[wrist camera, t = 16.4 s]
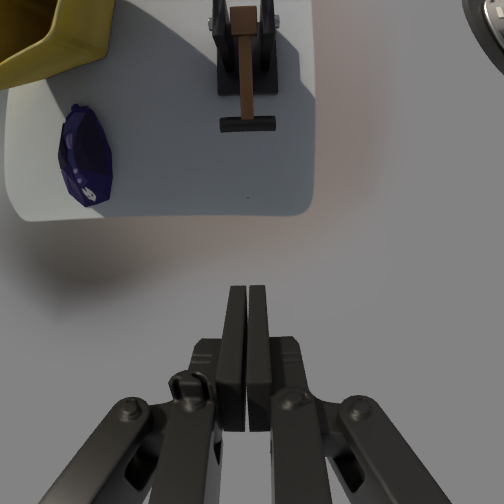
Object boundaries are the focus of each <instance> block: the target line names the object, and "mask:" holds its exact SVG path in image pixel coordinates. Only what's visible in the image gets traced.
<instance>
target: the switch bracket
mask: <svg viewBox="0 0 504 504" xmlns="http://www.w3.org/2000/svg"><path fill="white" fill-rule="evenodd" d="M279 24H280V21H279V15H274V2H273V0H261V3H260V22H257V37H251V52H252V81H253V95H266V94H278V76H277V56H276V39H275V34H276V31H275V29H278V28H279ZM208 26H209V31H212V36H213V39H214V41H215V44H216V47H217V81H218V95H219V96H234V95H240V74H239V50H238V38H233V37H232V35H231V25H230V21H229V16H228V11H227V6H226V1H225V0H213V15H212V18H209V19H208Z"/></svg>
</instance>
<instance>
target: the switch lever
mask: <svg viewBox="0 0 504 504" xmlns="http://www.w3.org/2000/svg"><path fill="white" fill-rule="evenodd" d="M230 25H231V35H232V37H233V38H238V50H239V74H240V98H241V117H224V118H220V131H221V133H224V132H244V131H275V130H276V118H275V116H254V111H253V81H252V52H251V37H257V7H256V6H236V7H230Z"/></svg>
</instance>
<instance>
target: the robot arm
mask: <svg viewBox="0 0 504 504" xmlns="http://www.w3.org/2000/svg"><path fill="white" fill-rule="evenodd" d="M481 11H482V15H483V19H484V21H485V24H486V26H487V28H488V30H489V32H490V34H491V36H492V37H493V39H494V41H495V42H496V44H497V45H498V47H499V48H500V49H501V51H502V52H503V53H504V0H485V1H483V2H482V5H481ZM249 289H250V290H249V317H247V296H246V286H231V287H230V293H229V299H228V305H227V311H226V317H225V323H224V329H223V335H222V339H204V338H202V339H201V340H200V341H199V342H198V343H197V344H196V345H195V347H194V351H193V354H192V357H191V361H190V365H189V369H188V370H184V371H181V372H179V373H177V374H175V375H174V376H172V378H171V379H170V381H169V382H168V384H169V387H170V390H171V394H172V397H173V400H172V401H170V402H167V403H163V404H156V405H148V404H147V402H146V401H144V400H143V399H141V398H137V397H128V398H124V399H122V400H120V401H118V402H117V403H116V404H115V405H114V406H113V407H112V409H111V410H110V411H109V412H108V414H107V415H106V416H105V418H104V419H103V420H102V421H101V423H100V424H99V425H98V426H97V428H96V429H95V430H94V432H93V433H92V434H91V435H90V437H89V438H88V439H87V441H86V442H85V443H84V444H83V446H82V447H81V448H80V449H79V451H78V452H77V453H76V455H75V456H74V457H73V458H72V460H71V461H70V462H69V464H68V465H67V466H66V468H65V469H64V470H63V471H62V473H61V474H60V476H59V477H58V478H57V479H56V481H55V482H54V483H53V485H52V486H51V487H50V488H49V490H48V491H47V492H46V494H45V495H44V496H43V498H42V499H41V500H40V502H39V503H38V504H142V503H143V501H144V500H145V498H146V496H147V494H148V492H149V490H150V489H151V487H152V490H151V494H150V499H149V503H148V504H219V495H220V480H221V468H222V454H223V453H222V452H223V440H222V429H223V430H224V431H230V432H245V411H246V386H247V401H248V415H249V429H250V432H262V431H270V433H271V440H270V453H271V486H272V487H271V488H272V504H332V498H331V492H330V485H329V479H328V473H327V467H326V461H325V457H327V458H328V460H329V462H330V464H331V466H332V468H333V470H334V472H335V474H336V476H337V478H338V480H339V482H340V483H341V486H342V487H343V489H344V491H345V493H346V495H347V497H348V499H349V501H350V503H351V504H452V503H451V502H450V500H449V499H448V497H447V496H446V495H445V493H444V492H443V491H442V489H441V488H440V487H439V485H438V484H437V482H436V481H435V480H434V479H433V477H432V476H431V474H430V473H429V472H428V470H427V469H426V467H425V466H424V465H423V463H422V462H421V461H420V459H419V458H418V457H417V455H416V454H415V453H414V451H413V450H412V449H411V447H410V446H409V445H408V443H407V442H406V441H405V439H404V438H403V437H402V435H401V434H400V433H399V431H398V430H397V429H396V427H395V426H394V425H393V423H392V422H391V421H390V419H389V418H388V416H387V415H386V414H385V413H384V411H383V410H382V409H381V407H380V406H379V405H378V403H377V402H376V401H374V400H373V399H372V398H369V397H367V396H362V395H356V396H350V397H348V398H347V399H345V400H344V401H343V402H342V403H341V404H339V403H331V402H326V401H322V400H320V399H318V398H316V397H315V396H313V395H312V394H311V392H310V391H309V388H308V385H307V380H306V375H305V370H304V365H303V361H302V355H301V351H300V346H299V343H298V342H297V341H296V340H295V339H294V337H292V336H287V337H269V331H268V317H267V306H266V305H267V304H266V291H265V285H251V286H250V287H249Z"/></svg>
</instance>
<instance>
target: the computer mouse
mask: <svg viewBox="0 0 504 504" xmlns="http://www.w3.org/2000/svg"><path fill="white" fill-rule="evenodd" d="M71 110H72V111H71V112H70V114H69V115H68V116H67V117H66V122H65V123H63V126H62V132H61V139H60V145H59V151H58V160H59V165H60V169H61V173H62V175H63V178H64V181H65V184H66V187H67V189H68V192H69V194H70V195H72V196H73V197H74V198H75V199H76V200H77V201H78V202H80V203H81V204H82V205H83V206H84V207H87V206H91V205H95V204H98V203H101V202H104V201H106V200H109V198H110V191H111V185H112V178H113V176H112V157H111V150H110V147H109V145H108V142H107V139H106V136H105V133H104V130H103V129H102V127H101V125H100V123H99V121H98V119H97V117H96V116H95V114H94V112H93V111H92V110H91V109H90V108H89V106H83V107H79V105H78V104H73V106H72V107H71Z"/></svg>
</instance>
